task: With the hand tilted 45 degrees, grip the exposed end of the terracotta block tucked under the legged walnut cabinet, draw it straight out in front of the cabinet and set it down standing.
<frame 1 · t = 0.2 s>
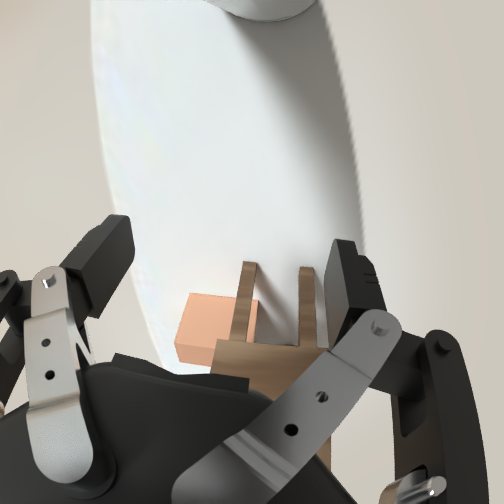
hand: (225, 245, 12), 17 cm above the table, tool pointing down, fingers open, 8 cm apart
walnut cabinet: (272, 313, 41), on the table
terracotta block: (223, 308, 41), on the table
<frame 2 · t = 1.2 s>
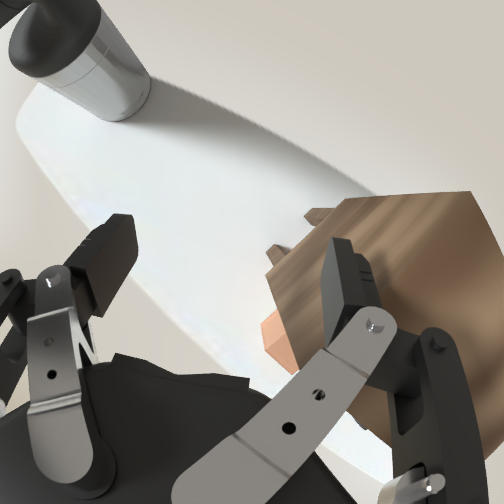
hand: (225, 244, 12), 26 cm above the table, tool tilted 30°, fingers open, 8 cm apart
walnut cabinet: (333, 279, 39), on the table
terracotta block: (297, 313, 40), on the table
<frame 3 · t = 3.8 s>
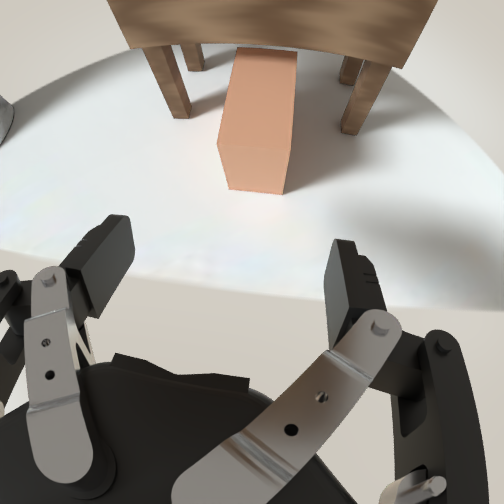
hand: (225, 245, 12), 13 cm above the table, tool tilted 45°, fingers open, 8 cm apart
walnut cabinet: (268, 91, 27), on the table
terracotta block: (261, 145, 26), on the table
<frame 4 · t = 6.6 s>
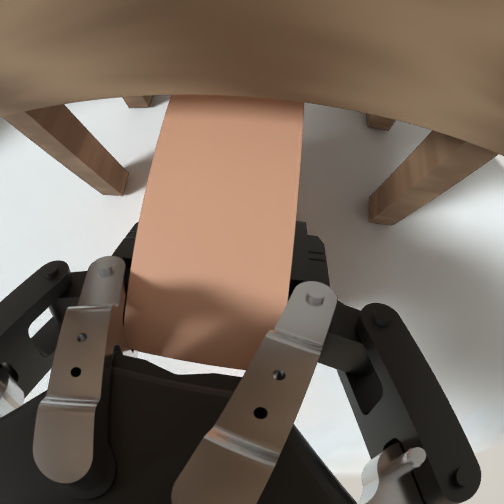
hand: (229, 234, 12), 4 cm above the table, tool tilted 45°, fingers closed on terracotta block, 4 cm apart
walnut cabinet: (250, 142, 18), on the table
terracotta block: (237, 249, 17), on the table, touching gripper
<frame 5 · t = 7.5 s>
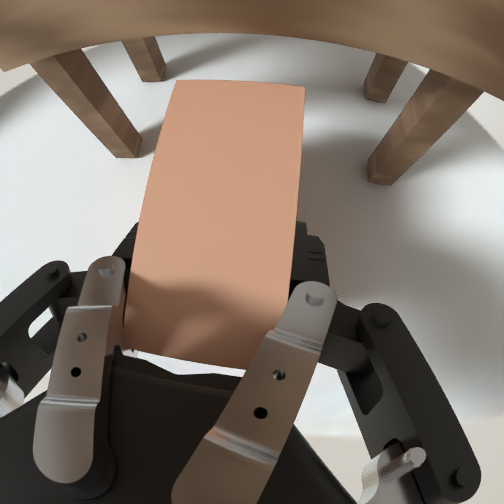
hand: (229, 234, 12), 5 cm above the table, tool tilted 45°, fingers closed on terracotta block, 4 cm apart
walnut cabinet: (256, 110, 18), on the table
terracotta block: (237, 249, 17), on the table, touching gripper
when the fingers open (4 cm above the table, at t = 8.8 s): terracotta block stays where it is, on the table.
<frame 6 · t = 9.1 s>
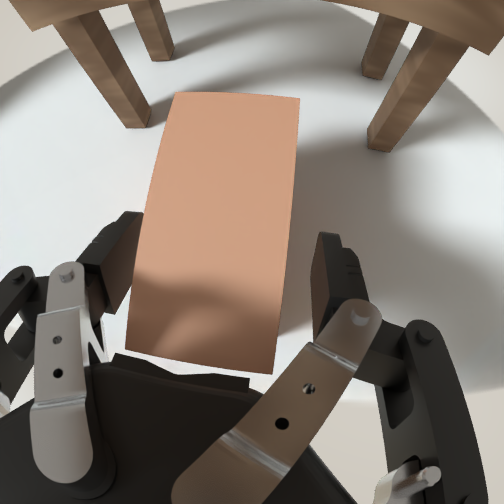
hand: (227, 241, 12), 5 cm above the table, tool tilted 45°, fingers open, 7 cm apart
walnut cabinet: (261, 85, 19), on the table
terracotta block: (236, 253, 17), on the table
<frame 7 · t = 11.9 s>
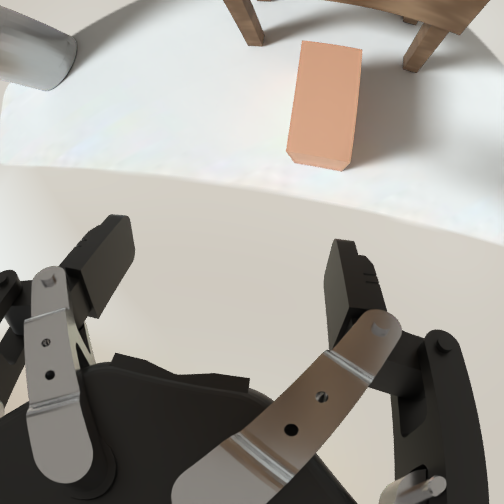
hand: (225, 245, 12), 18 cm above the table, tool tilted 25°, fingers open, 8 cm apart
walnut cabinet: (336, 24, 24), on the table
terracotta block: (324, 121, 27), on the table
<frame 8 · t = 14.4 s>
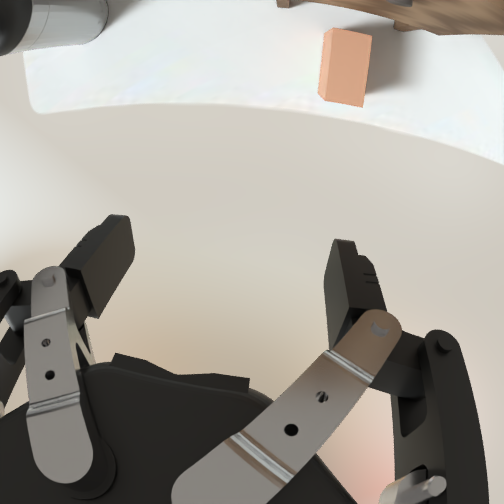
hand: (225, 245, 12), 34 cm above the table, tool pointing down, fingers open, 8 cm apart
terracotta block: (337, 65, 35), on the table
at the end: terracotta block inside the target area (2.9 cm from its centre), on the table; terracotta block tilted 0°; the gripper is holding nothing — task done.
